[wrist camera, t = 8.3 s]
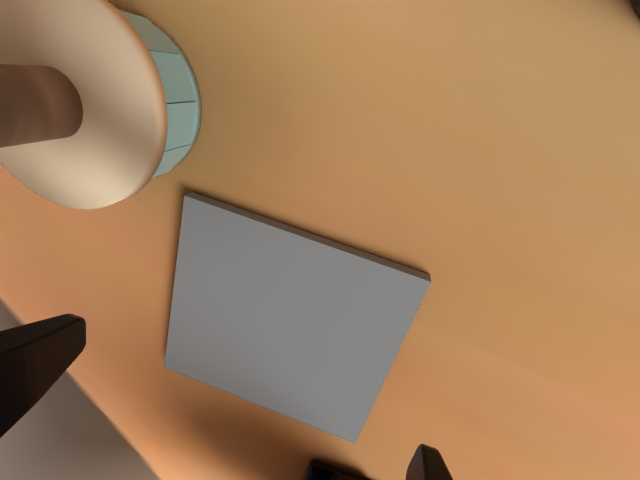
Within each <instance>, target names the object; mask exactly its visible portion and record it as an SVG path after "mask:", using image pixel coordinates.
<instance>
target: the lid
mask: <svg viewBox="0 0 640 480" xmlns="http://www.w3.org/2000/svg"><path fill="white" fill-rule="evenodd" d="M167 133H168V113H167V103H166V98H165V93H164V88H163V85H162V81H161V78H160V75H159V72H158V69H157V67H156V65H155V62H154V60H153V58H152V55H151V54H150V52H149V50H148V48H147V46H146V45H145V43H144V41H143V39H142V38H141V37H140V35H139V34H138V32H137V31H136V29H135V28H134V27H133V25H132V24H131V23H130V22H129V21H128V20H127V18H126V17H125V16H124V15H123V14H122V13H121V12H120V11H119V10H118V9H117V8H116V7H115V6H114V5H113V4H111V3H110V2H109V1H108V0H0V162H1V164H2V165H3V166H4V167H5V168H6V169H7V170H8V171H9V172H10V173H11V174H12V175H13V176H14V177H15V178H16V179H17V180H18V181H20V182H21V183H22V184H23V185H24V186H26V187H27V188H29V189H30V190H32V191H33V192H34V193H36V194H38V195H39V196H41V197H43V198H45V199H47V200H49V201H51V202H54V203H56V204H59V205H62V206H66V207H69V208H76V209H96V208H102V207H105V206H108V205H111V204H114V203H116V202H119V201H121V200H124V199H126V198H128V197H130V196H132V195H134V194H136V193H137V192H138V191H140V190H141V189H142V188H143V187H144V186H145V185H146V184H147V183H148V182H149V181H150V180H151V179H152V177H153V175H154V174H155V172H156V171H157V169H158V167H159V165H160V162H161V160H162V158H163V154H164V150H165V147H166V140H167Z"/></svg>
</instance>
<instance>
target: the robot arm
mask: <svg viewBox="0 0 640 480" xmlns="http://www.w3.org/2000/svg"><path fill="white" fill-rule="evenodd" d="M85 345H86V322H85V320H84V318H82V317H79V316H76V315H74V314H64V315H60V316H56V317H53V318H49V319H45V320H41V321H37V322H34V323H30V324H26V325H22V326H18V327H15V328H11V329H7V330H3V331H0V438H1V437H2V436H3V435H4V434H5V433H6V432H7V431H8V430H9V429H10V428H11V427H12V426H13V425H14V424H15V423H16V422H17V421H19V420H20V419H21V417H23V416H24V415H25V414H26V413H27V412H28V411H29V410H30V409H31V408H32V407H33V406H34V405H35V404H36V403H37V402H38V401H39V400H40V399H41V398H42V397H43V395H44V394H45V393H46V392H47V391H48V390H49V389H50V387H51V386H52V385H53V384H54V383H55V382H56V381H57V380H58V379H59V377H60V376H61V375H62V374H63V373H64V372H65V370H66V369H67V368H68V367H69V366H70V365H71V364H72V362H73V361H74V360H75V359H76V358H77V357H78V356H79V354H80V353H81V352H82V351H83V349H84V347H85ZM302 480H364V479H362V478H359V477H357V476H354V475H352V474H349V473H347V472H345V471H342V470H340V469H337V468H335V467H332V466H330V465H327V464H325V463H322V462H320V461H318V460H311V461H310V462H309V464H308V467H307V469H306V472H305V474H304V477H303V479H302ZM406 480H453V478H452V476H451V474H450V472H449V470H448V468H447V466H446V464H445V462H444V460H443V458H442V456H441V454H440V452H439V451H438V450H437V449H436V448H433V447H430V446H428V445H425V444H420V445H419V446H418V448H417V450H416V452H415V454H414V456H413V458H412V460H411V462H410V464H409V466H408V469H407V474H406Z"/></svg>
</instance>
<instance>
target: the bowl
mask: <svg viewBox="0 0 640 480" xmlns="http://www.w3.org/2000/svg"><path fill="white" fill-rule="evenodd" d="M118 10H119V11H120V12H121V13H122V14H123V15H124V16H125V17H126V18H127V20H128V21H129V22H130V23H131V24H132V25H133V27H134V28H135V29H136V31H137V32H138V34H139V35H140V37H141V38H142V39H143V41H144V43H145V45H146V46H147V48H148V50H149V52H150V54H151V55H152V58H153V60H154V62H155V65H156V67H157V69H158V72H159V75H160V78H161V81H162V85H163V88H164V93H165V98H166V103H167V113H168V133H167V140H166V147H165V150H164V154H163V158H162V160H161V162H160V165H159V167H158V169H157V171H156V172H155V174H154V175H153V177H152V178H154V177H156V176H159V175H162V174H165V173H167V172H169V171H170V170H171V169H172V168H173V167H174V166H176V165H177V164H179V163H180V162H181V161H182V160H183V159H184V158H185V157H186V156H187V155H188V153H189V152H190V151H191V149H192V148H193V145H194V143H195V141H196V139H197V136H198V133H199V129H200V124H201V113H202V109H201V97H200V91H199V86H198V83H197V79H196V76H195V74H194V71H193V69H192V67H191V65H190V63H189V61H188V59H187V57H186V55H185V54H184V52H183V51H182V49H181V48H180V47H179V45H178V44H177V43H176V42H175V41H174V39H173V38H172V37H171V36H170V35H169V34H167V33H166V32H165V31H164V30H163V29H162V28H160V27H159V26H158V25H156V24H155V23H153V22H151V21H149V20H148V19H147V18H146V17H143V16H140V15H136V14H133V13H130V12H126V11H123V10H120V9H118Z"/></svg>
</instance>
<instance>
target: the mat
mask: <svg viewBox="0 0 640 480" xmlns="http://www.w3.org/2000/svg"><path fill="white" fill-rule="evenodd" d="M430 282H431V279H430V274H427V273H424V272H421V271H418V270H415V269H412V268H409V267H407V266H404V265H401V264H398V263H395V262H392V261H389V260H387V259H384V258H381V257H378V256H375V255H372V254H369V253H366V252H364V251H361V250H358V249H355V248H352V247H349V246H346V245H343V244H341V243H338V242H335V241H332V240H329V239H326V238H323V237H320V236H318V235H315V234H312V233H309V232H306V231H303V230H300V229H297V228H295V227H292V226H289V225H286V224H283V223H280V222H277V221H274V220H272V219H269V218H266V217H263V216H260V215H257V214H254V213H251V212H249V211H246V210H243V209H240V208H237V207H234V206H231V205H228V204H226V203H223V202H220V201H217V200H214V199H211V198H208V197H205V196H203V195H200V194H197V193H194V192H191V193H189V194H187V195H185V196H184V203H183V211H182V220H181V228H180V237H179V245H178V254H177V262H176V270H175V279H174V287H173V296H172V304H171V313H170V321H169V330H168V338H167V346H166V355H165V363H164V367H165V368H167V369H170V370H172V371H175V372H177V373H180V374H182V375H185V376H187V377H190V378H192V379H195V380H197V381H200V382H202V383H205V384H207V385H210V386H212V387H215V388H217V389H220V390H222V391H225V392H227V393H230V394H232V395H235V396H237V397H240V398H242V399H245V400H247V401H250V402H252V403H255V404H257V405H260V406H262V407H265V408H267V409H270V410H272V411H275V412H277V413H280V414H282V415H285V416H287V417H290V418H292V419H295V420H297V421H300V422H302V423H305V424H307V425H310V426H312V427H315V428H317V429H320V430H322V431H325V432H327V433H330V434H332V435H335V436H337V437H340V438H342V439H345V440H347V441H350V442H352V443H356V441H357V438H358V436H359V434H360V432H361V430H362V428H363V426H364V424H365V421H366V419H367V417H368V415H369V413H370V411H371V409H372V406H373V404H374V402H375V400H376V398H377V396H378V394H379V391H380V389H381V387H382V385H383V383H384V381H385V379H386V376H387V374H388V372H389V370H390V368H391V366H392V364H393V361H394V359H395V357H396V355H397V353H398V351H399V349H400V347H401V344H402V342H403V340H404V338H405V336H406V334H407V332H408V329H409V327H410V325H411V323H412V321H413V319H414V317H415V314H416V312H417V310H418V308H419V306H420V304H421V302H422V299H423V297H424V295H425V293H426V291H427V289H428V287H429V285H430Z"/></svg>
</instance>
